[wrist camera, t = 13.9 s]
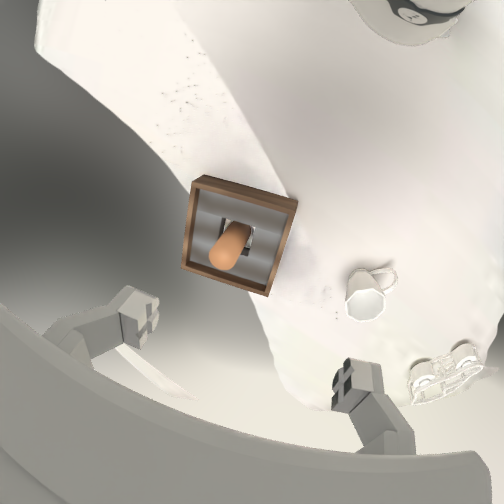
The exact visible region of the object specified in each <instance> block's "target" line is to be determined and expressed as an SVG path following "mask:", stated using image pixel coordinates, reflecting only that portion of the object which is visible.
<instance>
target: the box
mask: <svg viewBox="0 0 504 504" xmlns="http://www.w3.org/2000/svg"><path fill="white" fill-rule="evenodd" d="M297 204H298V201H297V200H294V199H290V198H287V197H284V196H280V195H277V194H274V193H270V192H267V191H263V190H260V189H256V188H253V187H249V186H246V185H242V184H239V183H235V182H231V181H227V180H224V179H220V178H216V177H212V176H208V175H202V176H201V177H199V178H197V179H195V180H194V181H192V184H191V191H190V197H189V205H188V212H187V219H186V227H185V236H184V244H183V253H182V263H181V269H184V270H187V271H190V272H193V273H196V274H199V275H202V276H205V277H208V278H211V279H214V280H217V281H220V282H223V283H226V284H229V285H232V286H235V287H238V288H241V289H244V290H247V291H250V292H253V293H256V294H260V295H263V296H266V297H268V296H269V293H270V290H271V287H272V284H273V281H274V278H275V275H276V272H277V269H278V266H279V263H280V260H281V257H282V254H283V250H284V247H285V244H286V241H287V238H288V235H289V232H290V229H291V226H292V222H293V219H294V216H295V213H296V209H297ZM226 218H227V219H230V220H233V221H237V222H240V223H243V224H247V225H250V226H253V227H256V228H255V231H254V235H253V239H252V243H251V247H250V248H248V247H244V248H243V250H242V252H241V254H240V256H239V257H238V259H237V261H236V263H235V265H234V266H233V267H232V268H231V269H229V270H220V269H218V268H216V267H214V266H213V265H212V263H211V262H210V260H209V252H210V250H211V249H212V247H213V246H214V245H215V243H216V242H217V241H218V239H219V238H220V237H221V235H222V234H223V231H224V226H225V221H226Z"/></svg>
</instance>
